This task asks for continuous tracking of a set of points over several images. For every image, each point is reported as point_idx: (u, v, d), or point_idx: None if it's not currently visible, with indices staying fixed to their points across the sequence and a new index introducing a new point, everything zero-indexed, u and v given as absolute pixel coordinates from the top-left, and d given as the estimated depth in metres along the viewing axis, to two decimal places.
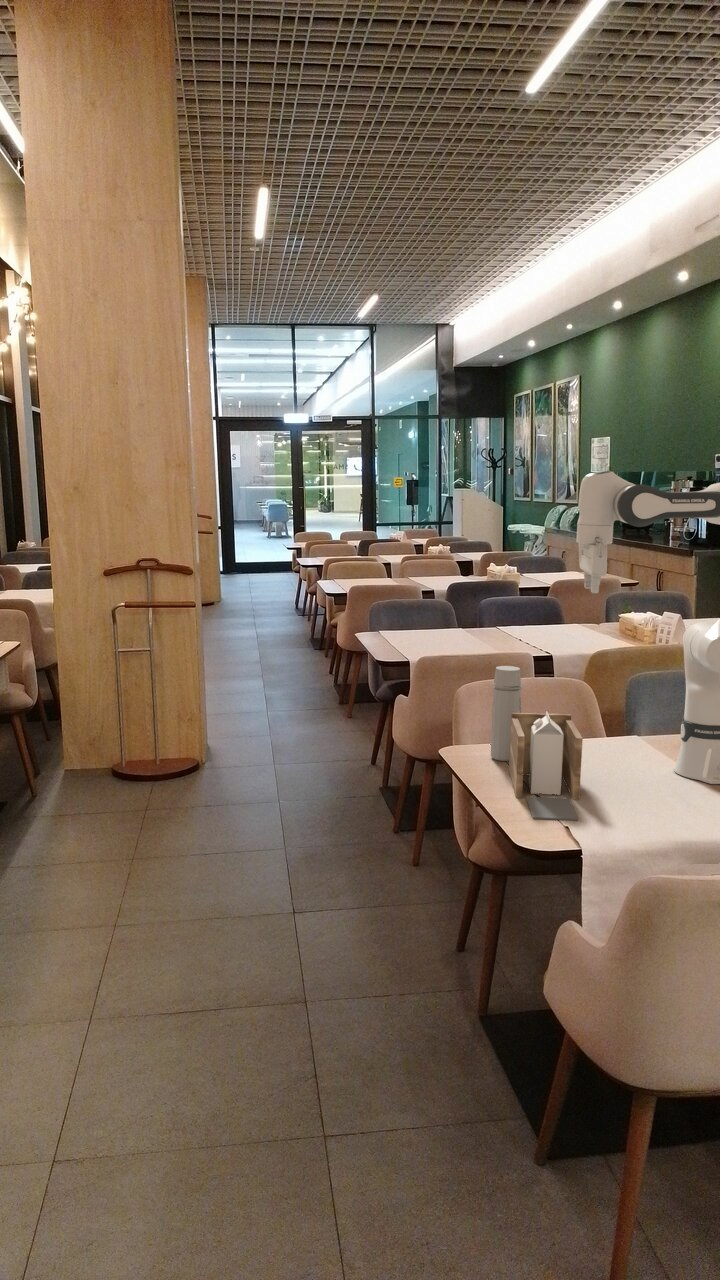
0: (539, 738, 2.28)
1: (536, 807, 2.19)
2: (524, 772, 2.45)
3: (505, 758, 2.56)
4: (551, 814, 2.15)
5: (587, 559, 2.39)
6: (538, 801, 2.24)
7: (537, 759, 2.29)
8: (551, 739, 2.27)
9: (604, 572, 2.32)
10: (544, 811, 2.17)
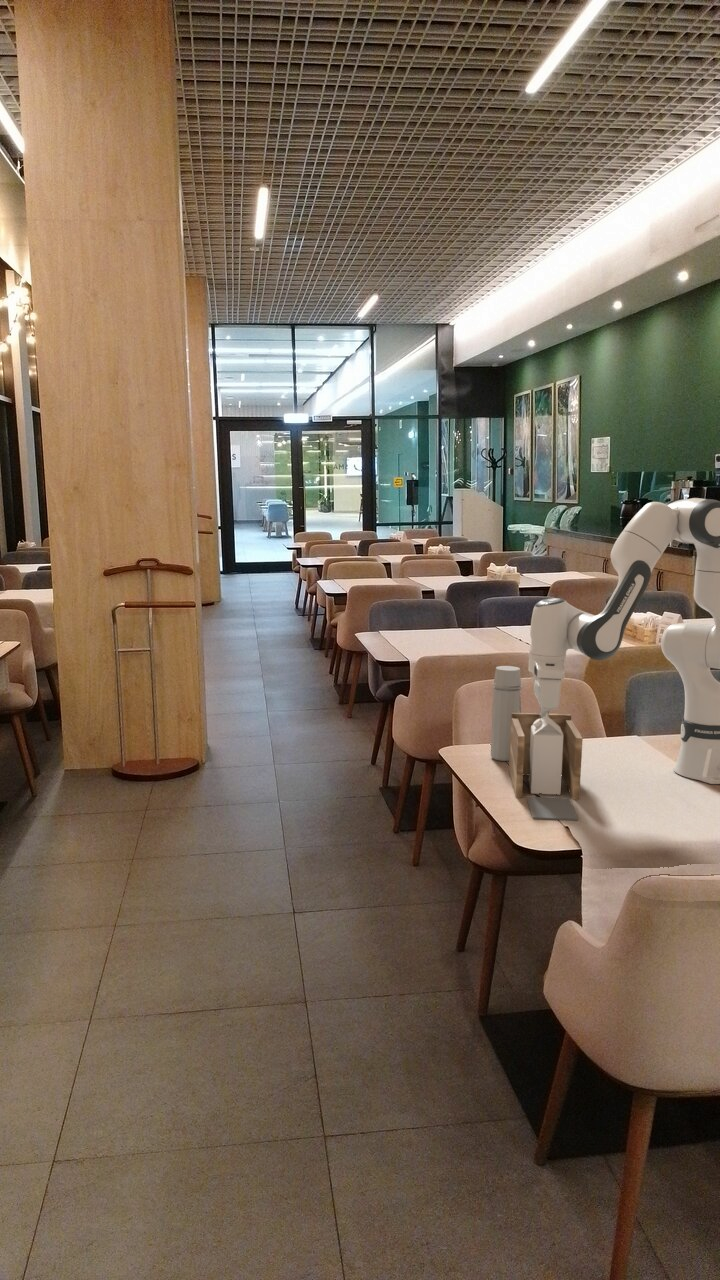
0: (539, 739, 2.27)
1: (536, 807, 2.19)
2: (524, 772, 2.45)
3: (505, 758, 2.56)
4: (551, 814, 2.15)
5: None
6: (538, 801, 2.24)
7: (537, 760, 2.28)
8: (551, 740, 2.27)
9: None
10: (544, 811, 2.17)
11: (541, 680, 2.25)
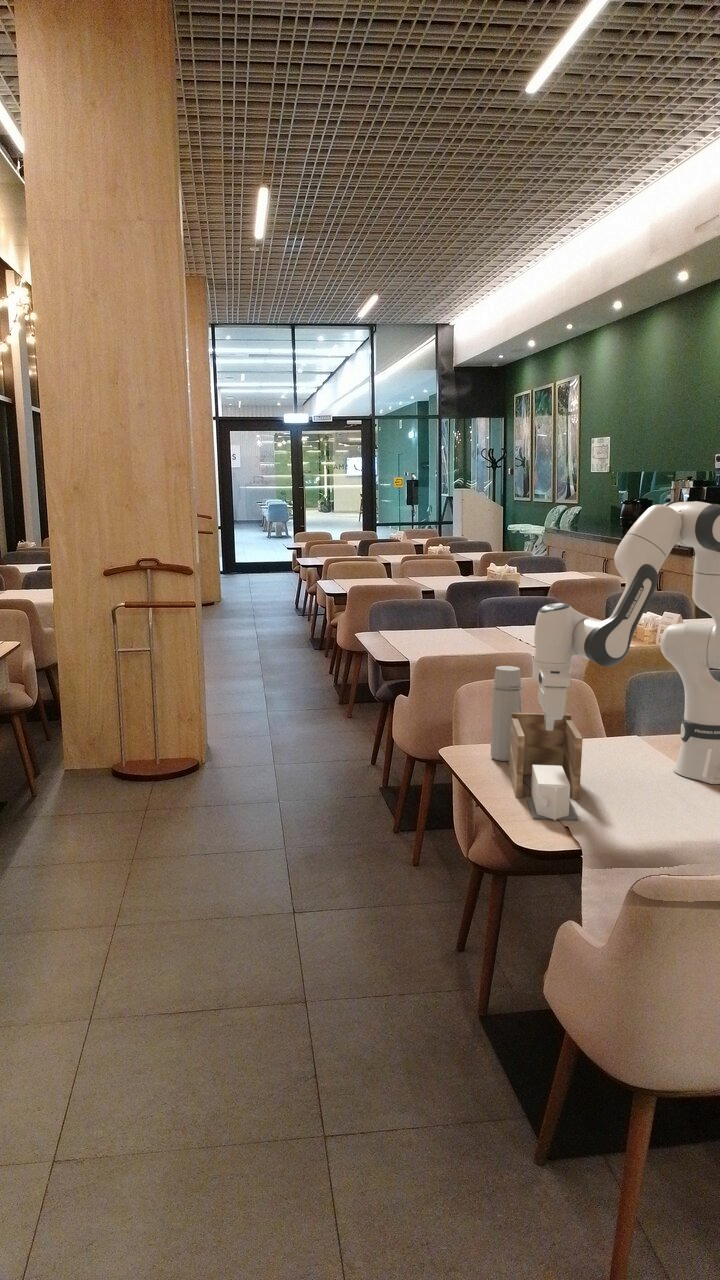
0: None
1: None
2: (524, 772, 2.45)
3: (505, 758, 2.56)
4: None
5: None
6: None
7: None
8: None
9: None
10: None
11: (546, 688, 2.17)
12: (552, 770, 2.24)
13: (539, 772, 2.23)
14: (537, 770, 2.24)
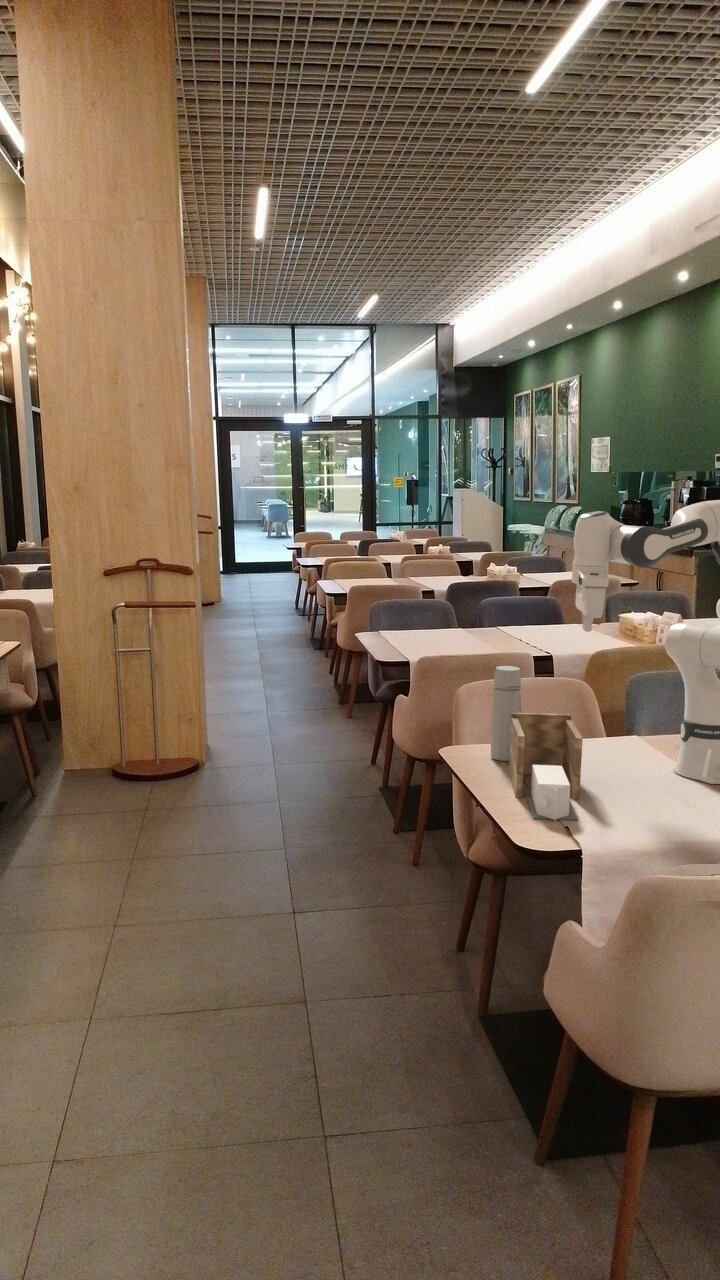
0: None
1: None
2: (524, 772, 2.45)
3: (505, 758, 2.56)
4: None
5: None
6: None
7: None
8: None
9: None
10: None
11: (586, 588, 2.32)
12: (552, 770, 2.24)
13: (539, 772, 2.23)
14: (537, 770, 2.24)
